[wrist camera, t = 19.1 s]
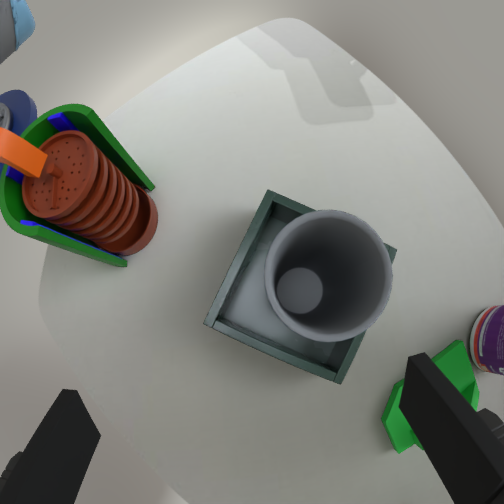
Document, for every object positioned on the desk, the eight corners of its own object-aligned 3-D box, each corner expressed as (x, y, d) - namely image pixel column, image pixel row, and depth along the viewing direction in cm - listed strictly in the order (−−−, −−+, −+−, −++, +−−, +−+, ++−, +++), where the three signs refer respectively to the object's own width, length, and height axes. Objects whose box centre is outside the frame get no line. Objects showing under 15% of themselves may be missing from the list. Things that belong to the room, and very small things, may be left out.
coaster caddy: (153, 268, 32) (25, 216, 12) (84, 265, 32) (-53, 221, 13) (163, 178, 34) (76, 59, 14) (96, 181, 34) (-11, 92, 14)
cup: (278, 335, 30) (290, 362, 15) (254, 269, 31) (244, 234, 16) (343, 310, 30) (409, 311, 15) (319, 246, 31) (363, 193, 16)
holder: (214, 320, 31) (202, 323, 25) (267, 209, 33) (267, 189, 27) (327, 371, 29) (341, 385, 24) (376, 259, 31) (397, 249, 26)
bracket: (456, 339, 29) (491, 344, 22) (473, 391, 28) (506, 402, 21) (371, 398, 29) (396, 418, 22) (394, 449, 27) (418, 474, 21)
